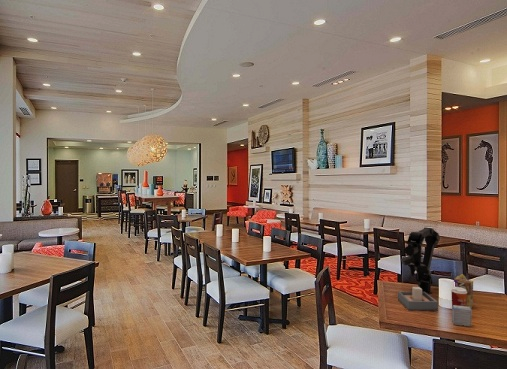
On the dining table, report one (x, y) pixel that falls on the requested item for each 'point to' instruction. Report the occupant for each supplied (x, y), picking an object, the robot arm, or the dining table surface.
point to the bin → (418, 302)
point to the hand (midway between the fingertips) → (415, 278)
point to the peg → (416, 294)
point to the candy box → (469, 288)
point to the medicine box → (461, 315)
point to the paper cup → (458, 296)
